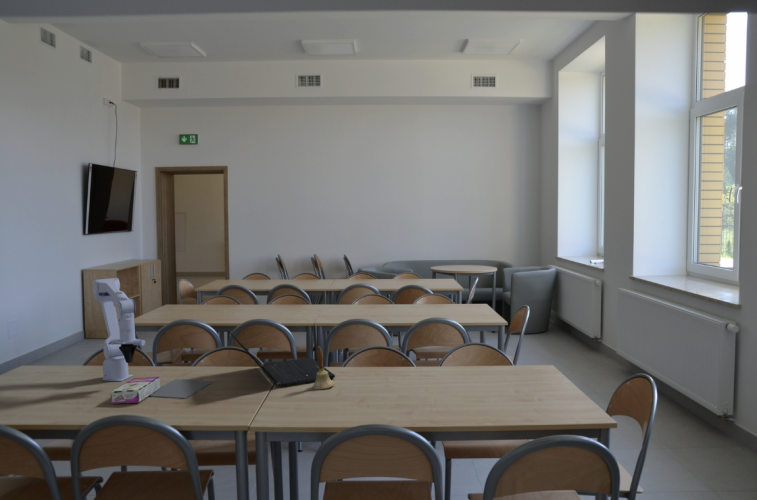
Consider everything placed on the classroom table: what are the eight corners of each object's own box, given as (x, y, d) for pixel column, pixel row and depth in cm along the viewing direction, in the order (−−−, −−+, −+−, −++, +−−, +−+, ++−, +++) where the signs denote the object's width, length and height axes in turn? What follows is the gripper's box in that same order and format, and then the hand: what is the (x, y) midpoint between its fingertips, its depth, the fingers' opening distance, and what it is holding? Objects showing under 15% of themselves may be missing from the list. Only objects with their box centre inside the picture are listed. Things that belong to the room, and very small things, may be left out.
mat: (144, 396, 207) (144, 395, 207) (175, 379, 226) (175, 378, 226) (185, 398, 203) (185, 397, 203) (214, 381, 222) (214, 380, 222)
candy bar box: (135, 390, 216) (110, 404, 199) (134, 377, 215) (109, 391, 199) (161, 388, 214) (139, 402, 198) (160, 376, 214) (137, 389, 198)
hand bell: (335, 386, 210) (330, 347, 208) (314, 391, 207) (309, 350, 206) (332, 380, 218) (327, 342, 216) (311, 384, 215) (306, 345, 214)
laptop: (336, 379, 221) (334, 333, 220) (243, 395, 206) (241, 345, 204) (311, 360, 251) (310, 319, 250) (229, 372, 236) (227, 328, 234)
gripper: (104, 331, 216) (107, 364, 217) (135, 332, 213) (138, 365, 214) (117, 327, 223) (119, 359, 224) (147, 328, 219) (149, 360, 220)
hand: (129, 362), depth 219 cm, fingers closed
